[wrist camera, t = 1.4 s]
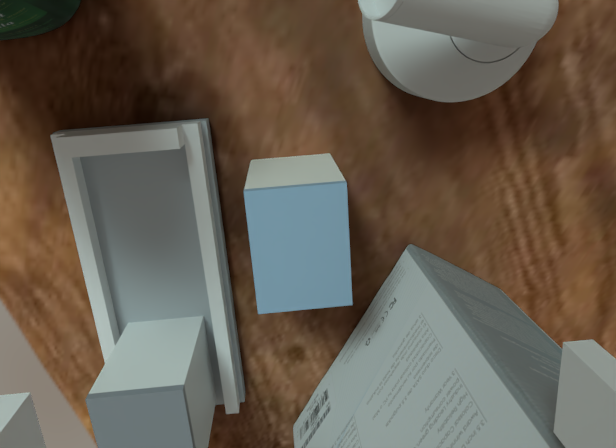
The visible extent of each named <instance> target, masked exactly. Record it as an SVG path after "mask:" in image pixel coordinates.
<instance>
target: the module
mask: <svg viewBox="0 0 616 448" xmlns="http://www.w3.org/2000/svg"><path fill="white" fill-rule="evenodd" d="M244 199H245V208H246V216H247V224H248V233H249V241H250V250H251V258H252V267H253V275H254V284H255V292H256V301H257V309H258V314H265V313H275V312H286V311H296V310H307V309H317V308H328V307H338V306H348V305H353V303H352V282H351V261H350V240H349V219H348V197H347V182H346V180H345V179H344V177H343V175H342V174H341V172H340V170H339V168H338V167H337V165H336V163H335V162H334V160H333V158H332V156H331V155H330V153H329V154H317V155H305V156H293V157H281V158H269V159H257V160H251V162H250V166H249V170H248V175H247V179H246V183H245V188H244Z"/></svg>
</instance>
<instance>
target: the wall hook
mask: <svg viewBox="0 0 616 448" xmlns="http://www.w3.org/2000/svg"><path fill="white" fill-rule="evenodd" d="M358 3H359V7H360V10H361V12H362V13H363V32H364V37H365V41H366V45H367V48H368V51H369V53H370V56H371V58H372V60H373V61H374V63H375V65H376V66H377V68H378V69H379V71H380V72H381V73H382V74H383V75H384V76H385V77H386V78H387V79H388V80H389V81H390V82H391V83H392V84H393V85H395V86H396V87H398V88H399V89H401V90H403V91H405V92H407V93H409V94H412V95H415V96H418V97H422V98H426V99H430V100H433V101H439V102H461V101H467V100H472V99H475V98H478V97H481V96H483V95H486V94H488V93H490V92H492V91H493V90H495V89H497V88H498V87H500V86H501V85H503V84H504V83H505V82H506V81H508V80H509V79H510V78H511V77H512V76H513V75H514V74H515V73H516V72H517V71H518V70H519V69H520V68H521V67H522V65H523V64H524V63H525V61H526V60H527V58H528V57H529V55H530V54H531V52H532V50H533V49H534V47H535V45H536V42H537V41H538V40H539V39H541V38H542V37H543V36H544V35H545V34H546V33H547V32H548V31H549V30H550V29H551V27H552V26H553V24H554V22H555V20H556V17H557V13H558V0H358Z"/></svg>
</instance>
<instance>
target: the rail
mask: <svg viewBox="0 0 616 448" xmlns="http://www.w3.org/2000/svg"><path fill="white" fill-rule="evenodd" d="M50 137H51V141H52V145H53V149H54V153H55V157H56V162H57V166H58V170H59V174H60V178H61V182H62V187H63V191H64V195H65V199H66V203H67V207H68V211H69V216H70V220H71V224H72V228H73V232H74V236H75V241H76V245H77V249H78V253H79V257H80V261H81V266H82V270H83V274H84V278H85V282H86V286H87V291H88V295H89V299H90V303H91V307H92V311H93V315H94V320H95V324H96V328H97V332H98V336H99V340H100V345H101V349H102V353H103V357H104V361H105V363H106V362H107V360H108V358H109V356H110V354H111V353H112V351H113V349H114V347H115V345H116V344H117V342H118V340H119V338H120V337H121V335H122V333H123V331H124V329H125V328H126V326H127V324H128V323H132V322H143V321H153V320H164V319H174V318H185V317H195V316H204V323H205V329H206V335H207V342H208V348H209V354H210V361H211V367H212V373H213V379H214V386H215V392H216V404H215V405H219V404H225V410H226V414H233V413H239V407H240V402H245V385H244V377H243V370H242V362H241V355H240V348H239V340H238V333H237V325H236V318H235V311H234V303H233V296H232V288H231V281H230V274H229V266H228V259H227V251H226V244H225V237H224V229H223V222H222V214H221V207H220V200H219V192H218V185H217V177H216V170H215V163H214V155H213V148H212V140H211V133H210V126H209V118H206V119H194V120H181V121H169V122H156V123H144V124H131V125H119V126H106V127H94V128H81V129H68V130H59V131H56V132H53V134H52V135H50Z"/></svg>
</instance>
